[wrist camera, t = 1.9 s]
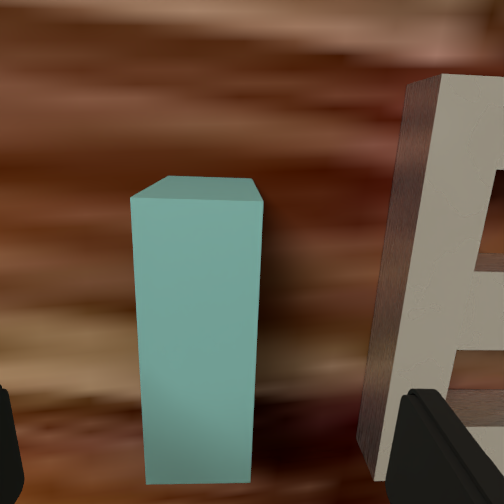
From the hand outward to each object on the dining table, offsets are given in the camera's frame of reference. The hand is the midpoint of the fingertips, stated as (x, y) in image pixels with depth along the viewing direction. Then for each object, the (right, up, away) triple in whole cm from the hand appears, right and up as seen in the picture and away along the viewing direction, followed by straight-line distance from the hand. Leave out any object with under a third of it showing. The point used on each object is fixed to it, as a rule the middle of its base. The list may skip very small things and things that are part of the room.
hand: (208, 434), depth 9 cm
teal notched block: (-1, +3, +11) cm, 11 cm away
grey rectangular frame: (+14, +2, +11) cm, 18 cm away
